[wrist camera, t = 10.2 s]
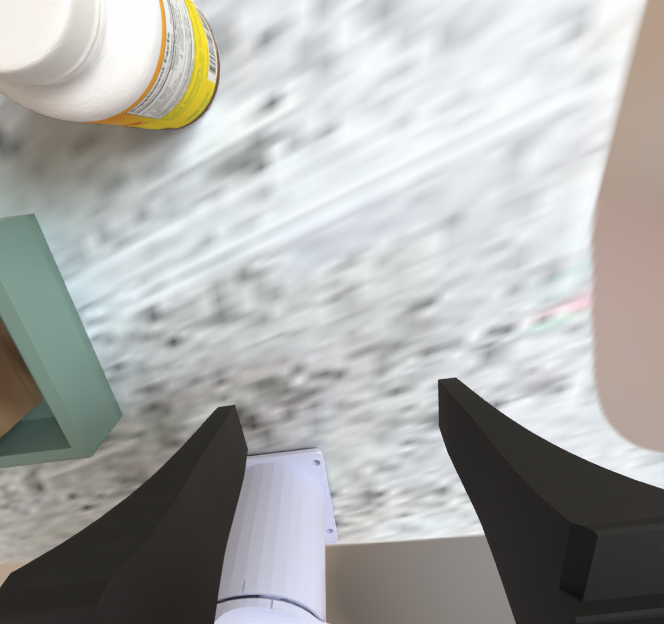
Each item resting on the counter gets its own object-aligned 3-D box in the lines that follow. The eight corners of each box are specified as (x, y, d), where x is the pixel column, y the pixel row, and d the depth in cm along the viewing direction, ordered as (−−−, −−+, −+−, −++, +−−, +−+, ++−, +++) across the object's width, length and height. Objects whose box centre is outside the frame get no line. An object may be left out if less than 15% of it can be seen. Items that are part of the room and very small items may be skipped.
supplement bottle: (73, 65, 17) (-245, -43, 7) (142, -51, 15) (-148, -378, 6) (179, 158, 18) (31, 168, 9) (250, 62, 17) (162, -48, 7)
